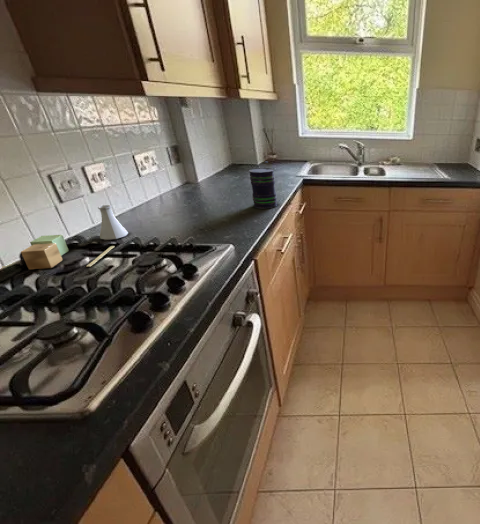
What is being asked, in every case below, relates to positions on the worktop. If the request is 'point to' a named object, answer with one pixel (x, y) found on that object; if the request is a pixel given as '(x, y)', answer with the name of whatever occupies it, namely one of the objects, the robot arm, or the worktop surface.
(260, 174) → the storage jar
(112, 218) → the flask
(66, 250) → the sage block
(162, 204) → the worktop surface
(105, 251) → the tape strip
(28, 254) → the beech block
